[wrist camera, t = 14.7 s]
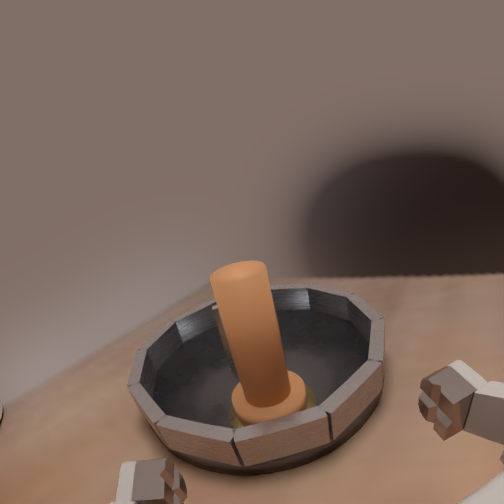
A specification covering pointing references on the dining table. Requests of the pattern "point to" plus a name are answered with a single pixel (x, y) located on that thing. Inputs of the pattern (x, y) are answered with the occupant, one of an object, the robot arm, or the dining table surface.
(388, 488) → the dining table surface
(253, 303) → the peg on round base
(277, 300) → the bowl
